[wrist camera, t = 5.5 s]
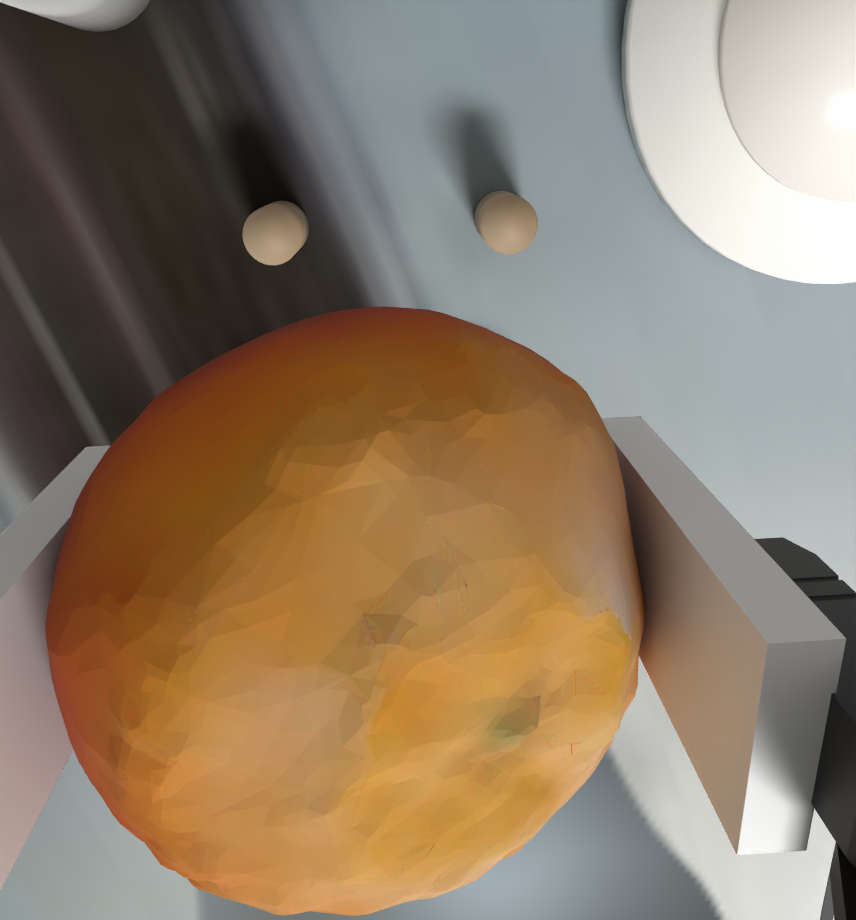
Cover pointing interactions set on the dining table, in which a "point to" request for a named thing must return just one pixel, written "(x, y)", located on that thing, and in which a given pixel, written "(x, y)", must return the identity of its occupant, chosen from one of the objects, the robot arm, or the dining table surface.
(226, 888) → the fruit
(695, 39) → the saucer
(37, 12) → the salt shaker
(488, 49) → the dining table surface
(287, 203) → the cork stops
